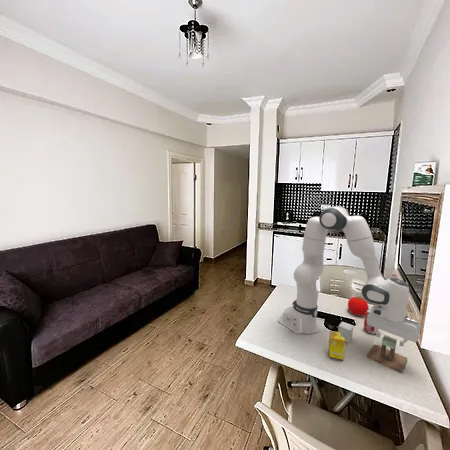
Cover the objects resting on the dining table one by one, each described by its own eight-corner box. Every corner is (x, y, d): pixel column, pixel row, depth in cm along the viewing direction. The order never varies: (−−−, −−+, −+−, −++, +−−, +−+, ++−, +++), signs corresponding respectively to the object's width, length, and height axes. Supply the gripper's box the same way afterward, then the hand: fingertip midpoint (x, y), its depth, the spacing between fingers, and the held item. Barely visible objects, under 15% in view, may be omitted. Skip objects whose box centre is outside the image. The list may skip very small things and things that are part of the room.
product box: (349, 343, 130) (350, 330, 129) (336, 338, 134) (338, 325, 132) (352, 337, 134) (353, 325, 133) (340, 333, 138) (341, 321, 137)
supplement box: (327, 350, 124) (330, 330, 122) (341, 353, 122) (343, 332, 120) (329, 358, 118) (331, 337, 116) (343, 361, 116) (345, 340, 114)
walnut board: (366, 357, 119) (367, 355, 119) (373, 346, 128) (374, 343, 128) (401, 373, 110) (402, 371, 110) (407, 360, 118) (407, 357, 118)
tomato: (351, 317, 155) (353, 301, 153) (344, 307, 167) (345, 293, 165) (370, 319, 153) (372, 303, 152) (362, 309, 165) (364, 294, 164)
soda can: (379, 336, 136) (382, 315, 134) (365, 334, 138) (368, 314, 136) (374, 328, 143) (377, 309, 141) (361, 327, 145) (364, 307, 143)
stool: (382, 351, 122) (384, 334, 121) (394, 356, 119) (397, 339, 117) (379, 356, 119) (382, 339, 117) (391, 361, 115) (394, 344, 114)
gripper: (423, 320, 110) (418, 348, 112) (371, 303, 124) (367, 329, 126) (421, 325, 105) (415, 355, 108) (367, 307, 120) (363, 334, 122)
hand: (389, 340), depth 117 cm, fingers open, 8 cm apart
